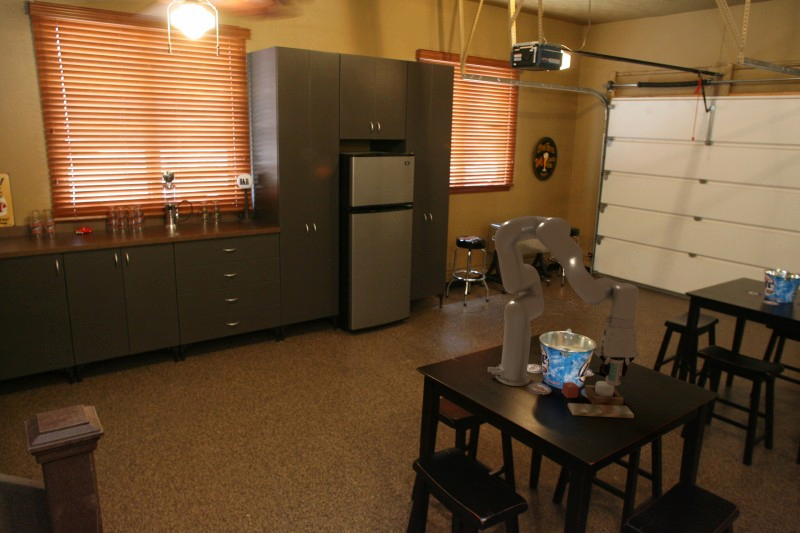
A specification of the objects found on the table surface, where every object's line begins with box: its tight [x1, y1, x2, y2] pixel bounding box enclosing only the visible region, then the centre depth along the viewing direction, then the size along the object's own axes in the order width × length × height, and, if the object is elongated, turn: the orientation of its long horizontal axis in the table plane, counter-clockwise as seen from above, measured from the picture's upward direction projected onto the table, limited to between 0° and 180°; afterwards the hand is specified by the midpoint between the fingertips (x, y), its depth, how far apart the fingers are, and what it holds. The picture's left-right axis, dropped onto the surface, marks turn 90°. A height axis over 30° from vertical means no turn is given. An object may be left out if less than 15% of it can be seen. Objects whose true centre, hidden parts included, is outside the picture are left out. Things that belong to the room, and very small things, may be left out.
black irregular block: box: [591, 362, 606, 378], centre depth 226 cm, size 12×7×5 cm, turn 50°
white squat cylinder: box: [595, 380, 615, 397], centre depth 204 cm, size 6×6×5 cm
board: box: [567, 402, 635, 419], centre depth 195 cm, size 20×6×1 cm, turn 90°
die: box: [561, 381, 580, 399], centre depth 206 cm, size 4×4×4 cm
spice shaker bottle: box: [604, 357, 624, 387], centre depth 191 cm, size 5×5×12 cm
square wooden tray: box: [583, 384, 625, 406], centre depth 204 cm, size 10×10×3 cm
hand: (613, 373), depth 192 cm, fingers closed on spice shaker bottle, 4 cm apart
